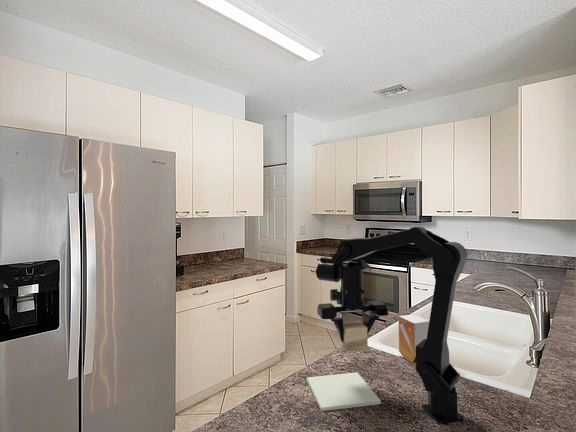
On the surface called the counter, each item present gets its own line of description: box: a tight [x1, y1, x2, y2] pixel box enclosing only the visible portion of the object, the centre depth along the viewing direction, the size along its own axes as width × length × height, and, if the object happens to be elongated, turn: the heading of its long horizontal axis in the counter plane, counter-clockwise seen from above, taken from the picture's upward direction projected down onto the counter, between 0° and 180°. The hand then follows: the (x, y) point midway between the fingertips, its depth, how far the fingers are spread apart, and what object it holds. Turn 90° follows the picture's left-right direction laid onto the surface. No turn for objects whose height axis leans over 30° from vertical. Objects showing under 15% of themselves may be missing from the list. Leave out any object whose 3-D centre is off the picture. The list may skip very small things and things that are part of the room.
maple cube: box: [338, 320, 369, 352], centre depth 90 cm, size 6×6×6 cm
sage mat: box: [306, 372, 382, 412], centre depth 86 cm, size 15×15×1 cm
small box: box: [398, 314, 430, 366], centre depth 105 cm, size 8×6×13 cm
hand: (353, 340), depth 90 cm, fingers closed on maple cube, 6 cm apart
